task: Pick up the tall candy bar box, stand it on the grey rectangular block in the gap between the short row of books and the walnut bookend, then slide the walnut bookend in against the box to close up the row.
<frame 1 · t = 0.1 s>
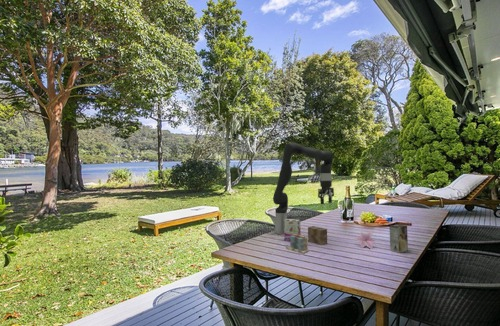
hand: (326, 203, 194), 29 cm above the table, tool pointing down, fingers open, 8 cm apart
walnut bookend: (317, 235, 199), point 6 cm above the table, slide at 0.0 cm
candy bar box: (292, 242, 205), on the table
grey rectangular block: (308, 246, 193), on the table
lily: (365, 247, 191), on the table
coffee box: (398, 250, 181), on the table
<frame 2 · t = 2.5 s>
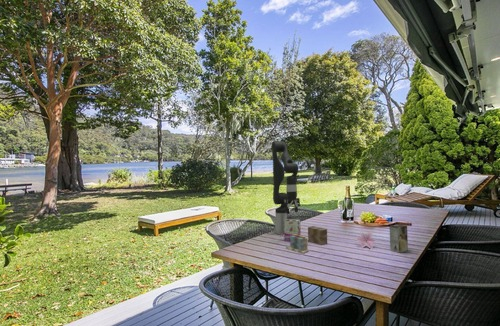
hand: (292, 213, 205), 21 cm above the table, tool pointing down, fingers open, 8 cm apart
nothing on the table moved.
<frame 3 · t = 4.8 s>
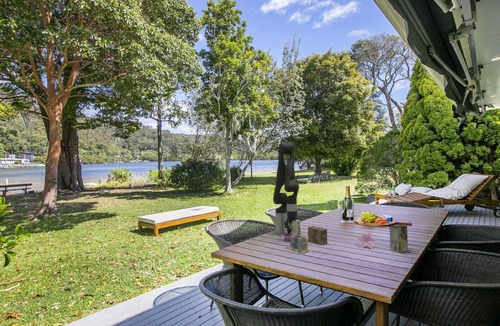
hand: (292, 232, 205), 7 cm above the table, tool pointing down, fingers closed on candy bar box, 6 cm apart
candy bar box: (292, 242, 205), on the table, touching gripper
everything else where it was.
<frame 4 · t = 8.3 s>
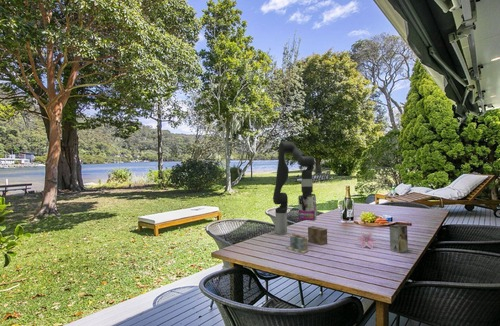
hand: (307, 209, 193), 25 cm above the table, tool pointing down, fingers closed on candy bar box, 6 cm apart
candy bar box: (307, 220, 193), point 18 cm above the table, touching gripper
when the fingers open (9 cm above the table, at t = 11.8 s): candy bar box drops 1 cm, resting on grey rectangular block.
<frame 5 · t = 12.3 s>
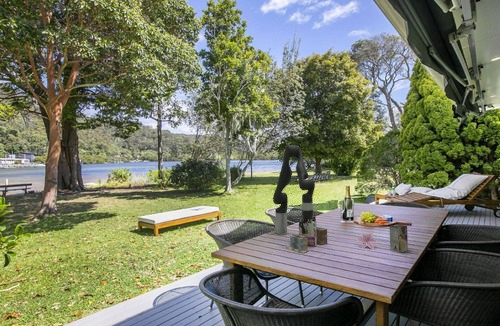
hand: (307, 232, 193), 10 cm above the table, tool pointing down, fingers open, 8 cm apart
candy bar box: (308, 245, 193), point 1 cm above the table, touching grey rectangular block
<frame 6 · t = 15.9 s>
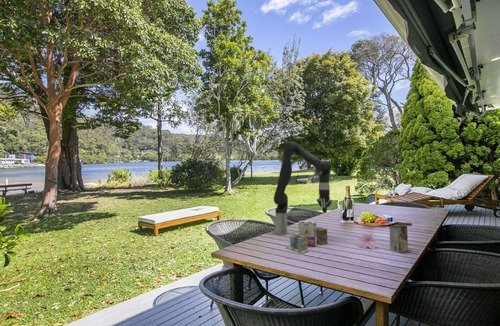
hand: (324, 212, 204), 21 cm above the table, tool pointing down, fingers closed
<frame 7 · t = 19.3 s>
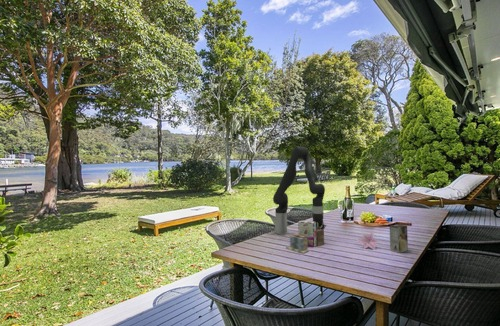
hand: (318, 236, 199), 5 cm above the table, tool pointing down, fingers closed
walnut bookend: (314, 236, 196), point 6 cm above the table, slide at 3.5 cm, touching candy bar box, hand
candy bar box: (307, 245, 192), point 1 cm above the table, touching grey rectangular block, walnut bookend
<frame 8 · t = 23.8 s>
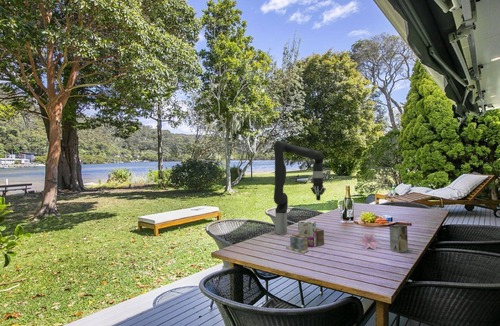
hand: (318, 200, 212), 29 cm above the table, tool pointing down, fingers closed
walnut bookend: (314, 236, 196), point 6 cm above the table, slide at 3.6 cm, touching candy bar box
at the end: candy bar box inside the target area (0.4 cm from its centre), point 0.8 cm above the table; candy bar box tilted 0°; walnut bookend slide at 3.6 cm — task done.
